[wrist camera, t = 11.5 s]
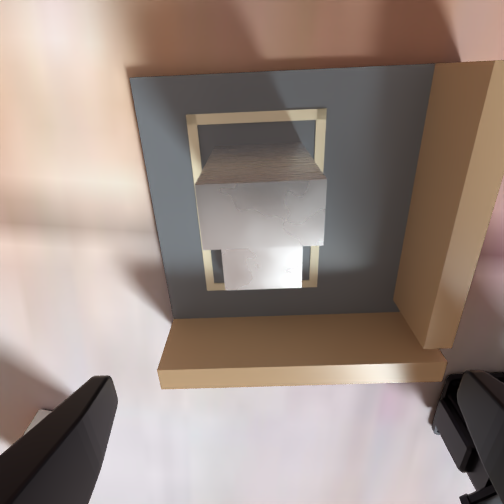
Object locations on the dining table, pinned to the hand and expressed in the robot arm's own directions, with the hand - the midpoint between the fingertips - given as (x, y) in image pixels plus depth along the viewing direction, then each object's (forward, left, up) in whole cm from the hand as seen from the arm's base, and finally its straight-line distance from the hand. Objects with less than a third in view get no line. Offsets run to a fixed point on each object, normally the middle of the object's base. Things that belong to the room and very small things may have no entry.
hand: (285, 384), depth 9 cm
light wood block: (0, 0, -12) cm, 12 cm away
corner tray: (-1, +1, -13) cm, 13 cm away
